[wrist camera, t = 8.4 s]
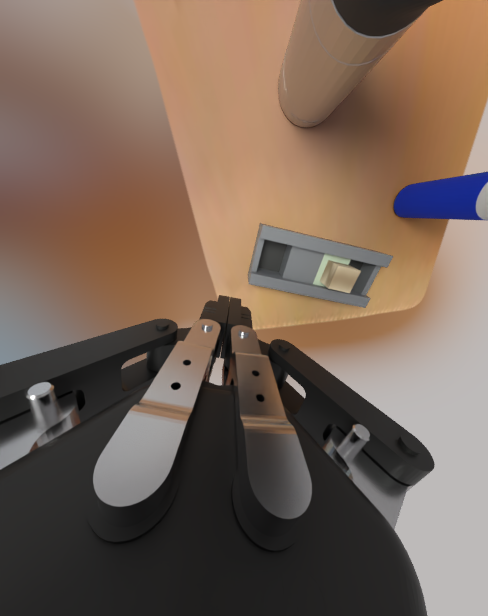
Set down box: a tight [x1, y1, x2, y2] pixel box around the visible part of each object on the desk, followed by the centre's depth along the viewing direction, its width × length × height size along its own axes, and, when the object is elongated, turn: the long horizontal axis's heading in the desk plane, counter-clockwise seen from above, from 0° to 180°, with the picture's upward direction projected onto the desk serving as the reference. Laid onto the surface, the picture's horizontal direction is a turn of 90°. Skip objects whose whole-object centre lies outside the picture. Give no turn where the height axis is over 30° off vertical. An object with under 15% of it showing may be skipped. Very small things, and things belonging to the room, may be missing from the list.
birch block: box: [320, 260, 361, 293], centre depth 34 cm, size 4×4×4 cm
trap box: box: [248, 223, 393, 308], centre depth 37 cm, size 10×23×6 cm, turn 78°
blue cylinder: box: [394, 172, 488, 220], centre depth 28 cm, size 5×5×15 cm
